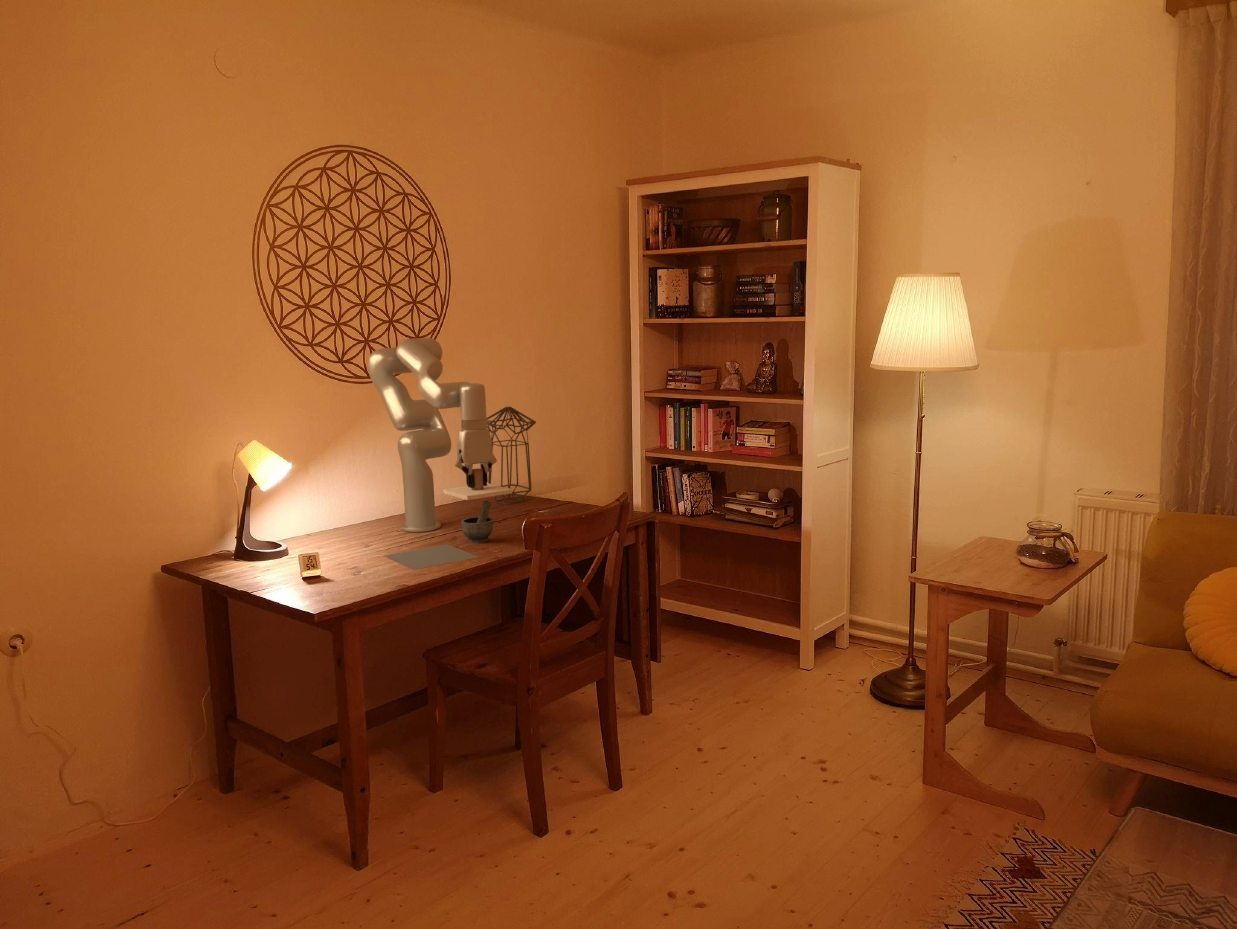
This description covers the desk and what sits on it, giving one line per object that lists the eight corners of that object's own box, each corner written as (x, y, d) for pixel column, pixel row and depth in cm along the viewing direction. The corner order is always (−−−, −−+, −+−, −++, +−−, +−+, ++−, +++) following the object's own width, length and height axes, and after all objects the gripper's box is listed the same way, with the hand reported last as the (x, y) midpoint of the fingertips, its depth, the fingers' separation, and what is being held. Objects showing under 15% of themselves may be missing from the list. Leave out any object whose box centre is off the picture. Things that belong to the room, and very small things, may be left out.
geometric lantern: (515, 496, 361) (513, 403, 355) (539, 502, 349) (538, 407, 343) (479, 501, 351) (477, 406, 345) (503, 508, 339) (501, 410, 333)
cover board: (443, 493, 289) (442, 469, 288) (487, 486, 297) (486, 463, 296) (467, 500, 277) (466, 475, 276) (512, 493, 286) (511, 469, 284)
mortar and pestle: (480, 547, 282) (478, 507, 281) (455, 544, 287) (453, 505, 285) (503, 539, 292) (501, 500, 290) (479, 536, 297) (477, 498, 295)
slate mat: (383, 557, 274) (383, 555, 273) (446, 546, 285) (446, 544, 285) (413, 571, 258) (413, 569, 258) (479, 559, 269) (479, 556, 269)
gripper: (492, 422, 292) (495, 481, 295) (442, 427, 282) (446, 488, 285) (504, 423, 286) (507, 484, 289) (454, 429, 276) (458, 491, 279)
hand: (477, 485), depth 287 cm, fingers closed on cover board, 3 cm apart
